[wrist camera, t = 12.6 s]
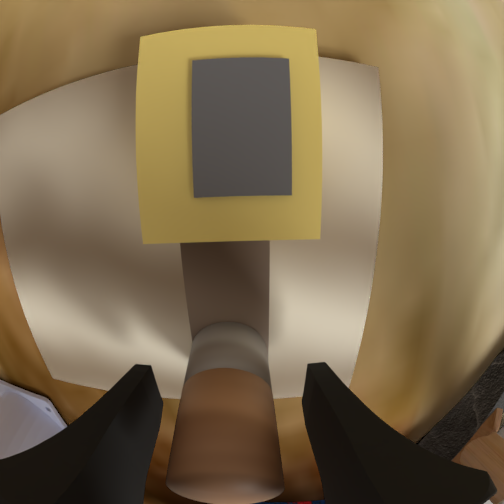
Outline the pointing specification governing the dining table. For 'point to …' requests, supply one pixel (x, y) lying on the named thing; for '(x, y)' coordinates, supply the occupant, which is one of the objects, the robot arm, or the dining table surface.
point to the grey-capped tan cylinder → (226, 421)
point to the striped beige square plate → (181, 254)
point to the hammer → (475, 428)
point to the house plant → (501, 432)
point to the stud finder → (229, 134)
